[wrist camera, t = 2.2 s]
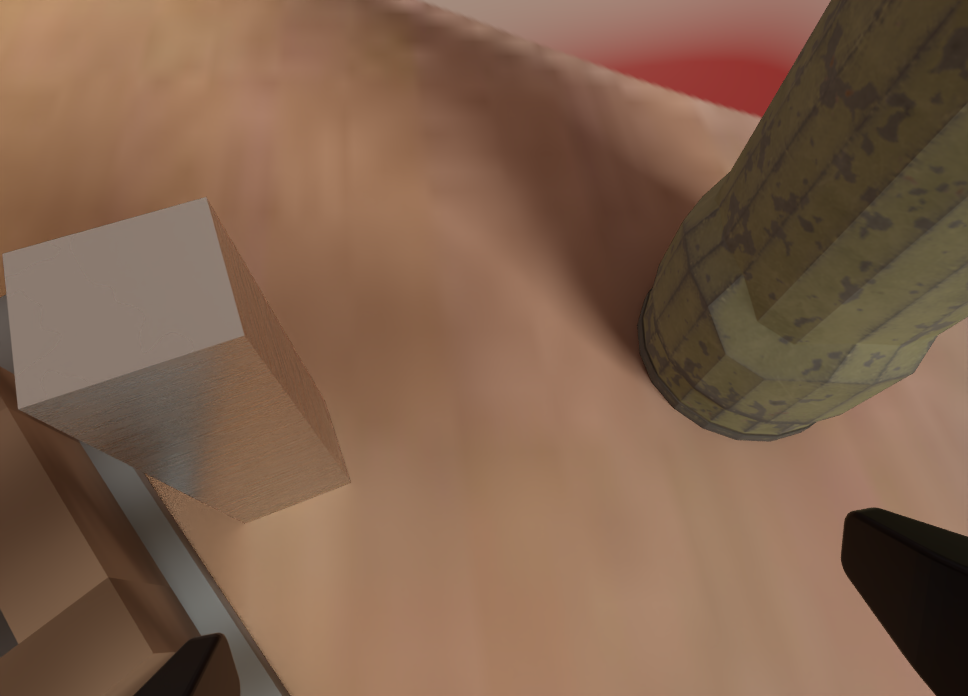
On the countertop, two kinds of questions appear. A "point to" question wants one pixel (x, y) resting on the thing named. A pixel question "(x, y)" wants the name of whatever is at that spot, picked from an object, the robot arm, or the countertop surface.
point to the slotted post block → (95, 569)
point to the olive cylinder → (825, 232)
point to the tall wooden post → (170, 361)
